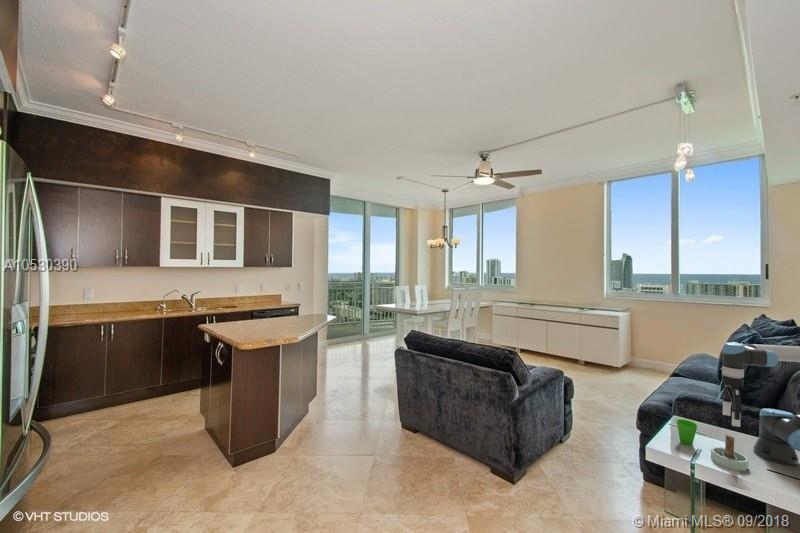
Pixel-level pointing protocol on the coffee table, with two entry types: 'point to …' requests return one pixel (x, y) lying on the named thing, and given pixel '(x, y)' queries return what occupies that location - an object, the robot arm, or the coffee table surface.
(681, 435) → the cup
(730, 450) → the block
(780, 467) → the coffee table surface
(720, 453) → the pale green round dish
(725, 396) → the robot arm
